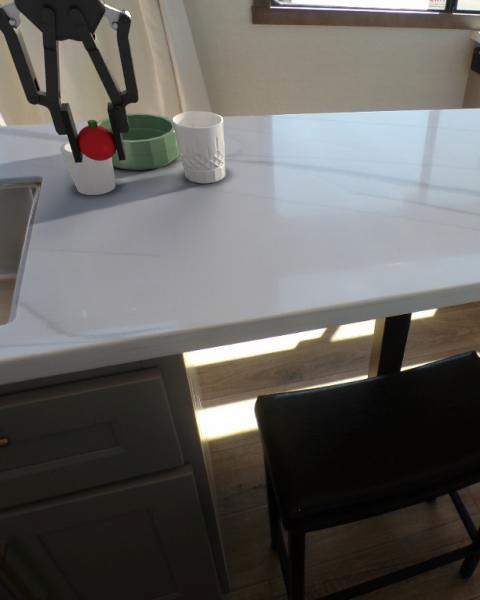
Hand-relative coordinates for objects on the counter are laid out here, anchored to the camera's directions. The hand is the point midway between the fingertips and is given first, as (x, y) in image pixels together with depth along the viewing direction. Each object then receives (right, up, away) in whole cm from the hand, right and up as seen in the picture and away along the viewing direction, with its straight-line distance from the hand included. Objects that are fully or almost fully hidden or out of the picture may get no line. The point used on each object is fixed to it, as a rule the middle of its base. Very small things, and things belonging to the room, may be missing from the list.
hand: (101, 156), depth 67 cm
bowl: (-9, +8, +28) cm, 30 cm away
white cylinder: (-11, 0, +18) cm, 21 cm away
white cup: (+4, +3, +25) cm, 25 cm away
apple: (0, 0, 0) cm, 0 cm away
